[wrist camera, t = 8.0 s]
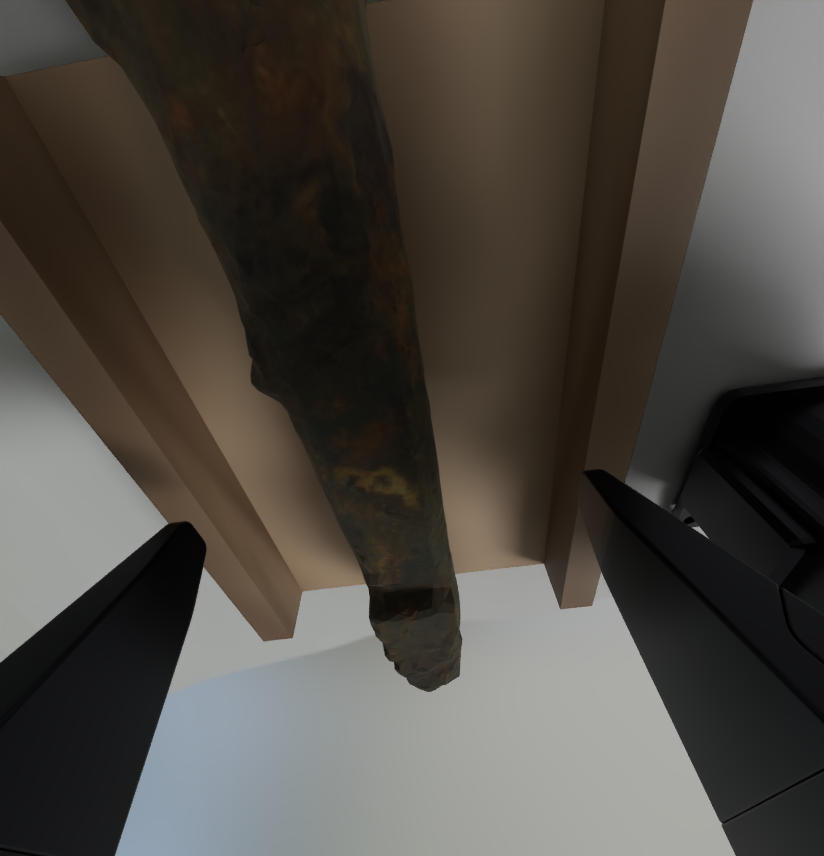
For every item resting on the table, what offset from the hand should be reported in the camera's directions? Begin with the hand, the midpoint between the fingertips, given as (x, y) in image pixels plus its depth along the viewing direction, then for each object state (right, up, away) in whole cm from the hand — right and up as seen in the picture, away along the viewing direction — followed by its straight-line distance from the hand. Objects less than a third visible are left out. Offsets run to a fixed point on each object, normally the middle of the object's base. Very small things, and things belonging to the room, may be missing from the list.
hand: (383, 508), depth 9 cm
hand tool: (0, +2, +3) cm, 4 cm away
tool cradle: (0, +3, +4) cm, 4 cm away
